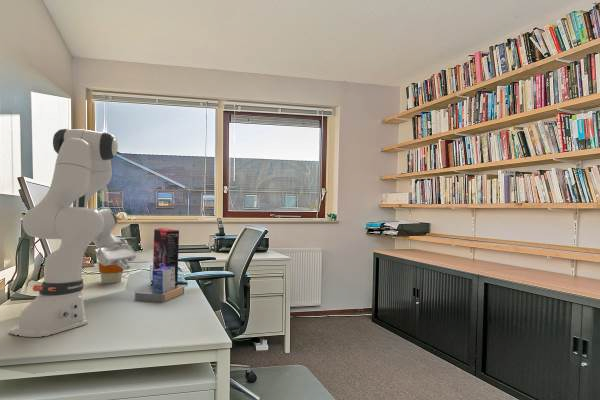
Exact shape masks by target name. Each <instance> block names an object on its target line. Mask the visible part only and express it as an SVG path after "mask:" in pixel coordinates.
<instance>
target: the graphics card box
mask: <svg viewBox="0 0 600 400" xmlns="http://www.w3.org/2000/svg"><path fill="white" fill-rule="evenodd" d="M179 240H180V230H178V229H172V228H165V227H163V228H162V227H161V228H160V227H159V228H155V229H154V230H153V255H152V257H153V258H152V264H153V265H152V271H153V270H156V269H159V268H160V266H159V263H164V265H165V267H175V286H178V281H179V280H178V278H179V277H178V275H179V274H178V273H179V246H180V245H179V243H180V241H179ZM164 265H162V264H161V266H164Z"/></svg>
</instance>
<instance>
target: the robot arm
mask: <svg viewBox="0 0 600 400" xmlns="http://www.w3.org/2000/svg"><path fill="white" fill-rule="evenodd" d="M52 146H53V150H54V152H55V153H56V154H57V156H56V160H55V165H54V170H53V171H54V172H53V175H52V180H51V184H50V186H49V189H48V191H47V193H46V194H45V196H44V197H43V198H42V200H40V202H39V203H38V204H36V205H35V206H34V207H32V208H30V209H29V210H27V211H26V212H25V214H24V216H23V217H22V227H23V230H24V232H25V233H26V235H28V236H29V237H33V238H37V239H42V240H61V242H60V246H59V248H57V250H54V251H52V252H51V253H49V254H48V255H47V256H46V257H45V259H44V265H43V267H44V269H43V270H44V272H43V281H42V283H41V285H40V284H39V285H38V284H34V285H33V286H31V287H32V291H33V292H38V293H39V294H38V295H36V297H35V298H34V299H33V300H32V301H31V302H30V303H29V304H28V305H27V306H26V307H25V308H24V309H23V310H22V311H21V312H20V315H19V321H18V325H17V326H14V327H12V328H10V329H9V333H10V334H11V335H13V334H14V335H13V336H17V335H19V337H27V338H40V337H42V336H44V337H48V336H51V334H52V335H55V334H58V333H61V332H65V331H68V330H72V329H74V328H77V327H81V326H85V325H88V320H87V317H86V312H85V302H84V301H85V300H84V296H83V293H82V292H83V289H84V279H83V277H82V275H83V263H84V256H85V254H86V253H85V252H86V251H87V248H88V247H89V245H90V244H91V243H92V242H93V244H94V246H95V247H94V249H93V252H94V254H95V257H96V258H97V260H98V263H99V262H100V263H101V264H102V265H104V266H107V265H112V264H117V265H118V266H119V267H121V268H122V269H123V270H124V271H127V270H130V268H131V265H130V264H129V262H133V261H134V260H135V259H136V258H137V252H135V251H134V249H133V248H132V247H131V246H130V245H129V244H128V241H127V240H126V239H123V238H120V237H117V236H115V235H114V234H113V233H112V231H113V230H114V229H115V228H116V225H117V223H118V218H117V216H116V214H115V212H114V211H113V210H111V209H109V208H102V209H99V210H98V209H93V208H89V207H88V205H89V200H90V199H91V198H92V197H93V196H94V195H95V194H96V193H97V192H99V191H100V190H102V189H104V188H105V187H106V186H107V185H108V184H110V182H111V179H112V175H113V172H112V170H113V169H112V162H111V160H113V159H114V158H115V157H116V155H117V152H118V150H119V144H118V139H117V138H116V136H115V135H114V134H112V133H109V132H106V131H105V132H101V131H96V130H95V131H94V130H88V129H79V128H78V129H69V128H61V129H58V130H57V131H56V132H55V133H54V135H53V139H52Z"/></svg>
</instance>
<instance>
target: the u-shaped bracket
mask: <svg viewBox="0 0 600 400" xmlns="http://www.w3.org/2000/svg"><path fill="white" fill-rule="evenodd" d="M183 294H185V286H184V285H183V286H182V285H181V286H180V285H177V286H175V289H173V290H171V291H168V292H166V293H163V294H157V293H153V292H142V291H137V292H135V293H134V301H145V302H153V303H155V302H156V303H165V302H167V301H170V300H172V299H174V298H176V297H179V296H182V295H183Z"/></svg>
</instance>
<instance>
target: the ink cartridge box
mask: <svg viewBox="0 0 600 400" xmlns="http://www.w3.org/2000/svg"><path fill="white" fill-rule="evenodd" d="M161 264H162V265H164V263H159V266H160V268H159V269H156V270H153V269H152V293H157V294H163V293H166V292H168V291H171V290H173V289H175V267H165V265H164V266H161Z"/></svg>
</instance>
